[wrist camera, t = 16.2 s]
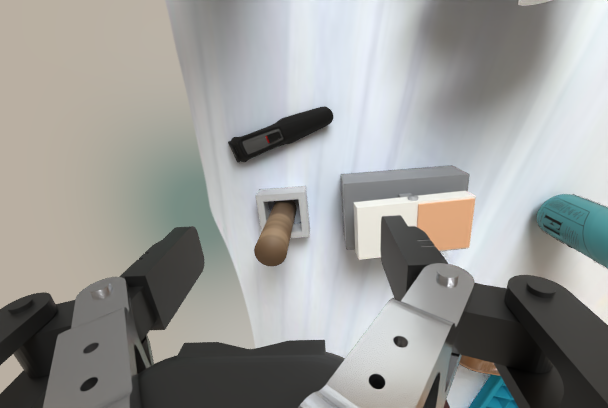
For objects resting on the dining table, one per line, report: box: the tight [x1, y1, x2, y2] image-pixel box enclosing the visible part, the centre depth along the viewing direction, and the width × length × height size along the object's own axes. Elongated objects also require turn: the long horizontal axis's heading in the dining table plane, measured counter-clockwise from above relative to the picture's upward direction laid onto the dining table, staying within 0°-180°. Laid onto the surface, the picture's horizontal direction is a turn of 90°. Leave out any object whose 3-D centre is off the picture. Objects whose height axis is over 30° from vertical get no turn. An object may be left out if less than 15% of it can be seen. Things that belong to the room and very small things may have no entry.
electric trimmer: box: [228, 107, 333, 162], centre depth 39 cm, size 4×16×3 cm, turn 111°
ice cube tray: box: [469, 374, 518, 408], centre depth 54 cm, size 12×20×3 cm, turn 167°
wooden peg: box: [254, 200, 297, 266], centre depth 38 cm, size 4×4×14 cm
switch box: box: [341, 166, 469, 250], centre depth 40 cm, size 10×16×7 cm, turn 95°
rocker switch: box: [354, 191, 476, 260], centre depth 35 cm, size 8×14×2 cm, turn 95°
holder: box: [256, 186, 310, 238], centre depth 43 cm, size 7×7×3 cm
